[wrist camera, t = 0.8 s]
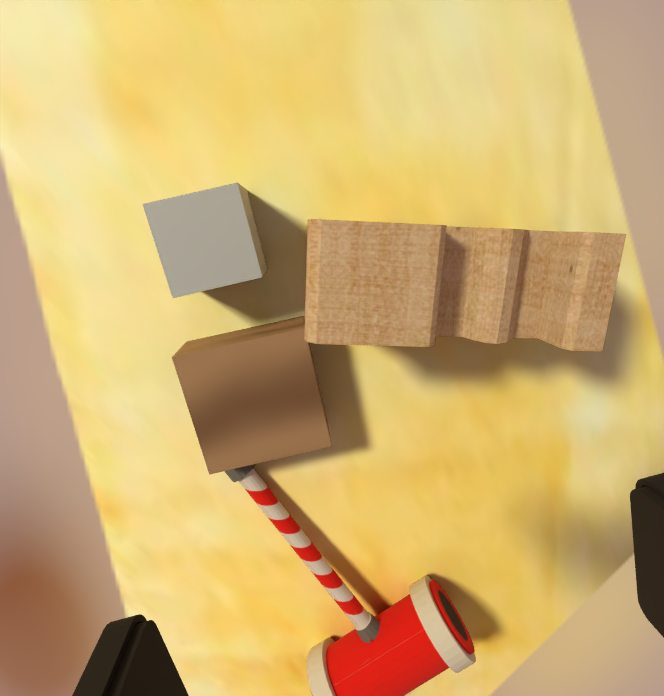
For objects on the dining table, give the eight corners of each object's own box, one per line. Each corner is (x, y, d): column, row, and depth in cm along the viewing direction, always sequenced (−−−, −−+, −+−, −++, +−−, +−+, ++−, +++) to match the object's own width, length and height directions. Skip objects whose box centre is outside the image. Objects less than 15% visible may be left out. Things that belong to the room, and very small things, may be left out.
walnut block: (187, 340, 31) (172, 357, 27) (303, 315, 31) (304, 328, 27) (219, 445, 33) (209, 474, 29) (327, 420, 33) (331, 446, 29)
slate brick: (168, 207, 28) (142, 204, 23) (247, 190, 28) (237, 182, 23) (192, 286, 29) (172, 298, 25) (267, 269, 30) (262, 277, 25)
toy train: (543, 314, 32) (651, 352, 22) (301, 307, 30) (304, 344, 21) (556, 233, 30) (678, 236, 21) (303, 221, 29) (308, 218, 19)
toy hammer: (171, 496, 34) (144, 557, 27) (299, 407, 32) (300, 449, 26) (346, 677, 39) (356, 760, 33) (459, 606, 38) (490, 679, 32)
